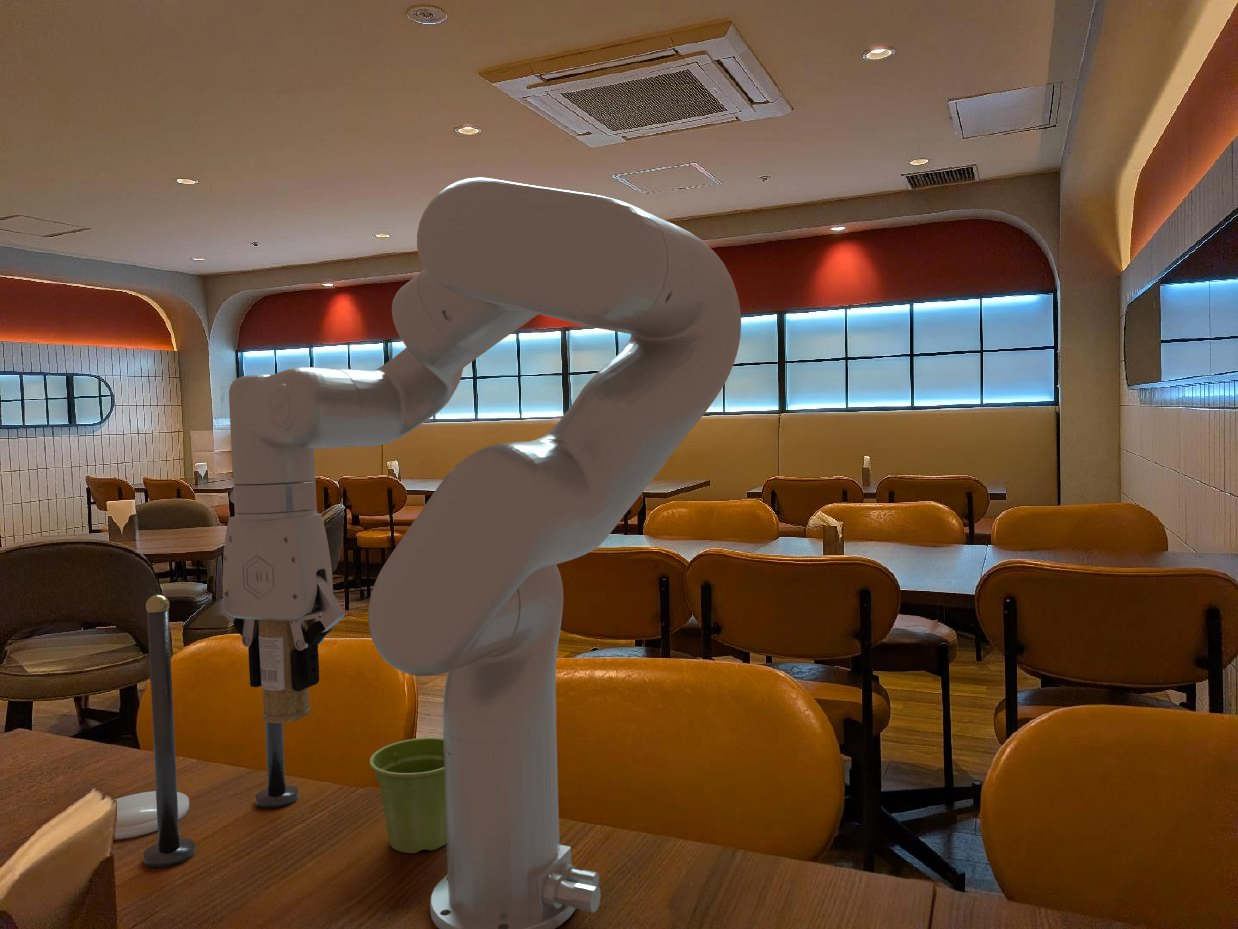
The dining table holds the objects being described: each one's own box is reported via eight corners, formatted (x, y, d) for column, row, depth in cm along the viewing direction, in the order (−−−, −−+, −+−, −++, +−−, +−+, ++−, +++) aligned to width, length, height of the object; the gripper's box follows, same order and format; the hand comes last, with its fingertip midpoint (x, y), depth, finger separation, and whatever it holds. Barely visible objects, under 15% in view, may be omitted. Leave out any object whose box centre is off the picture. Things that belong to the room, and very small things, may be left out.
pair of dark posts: (306, 795, 97) (297, 569, 96) (165, 871, 81) (152, 600, 80) (277, 789, 99) (268, 568, 98) (133, 863, 83) (120, 598, 81)
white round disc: (209, 805, 95) (209, 797, 95) (125, 847, 86) (125, 837, 86) (147, 792, 99) (146, 784, 99) (60, 830, 90) (60, 821, 90)
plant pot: (487, 827, 88) (485, 744, 88) (430, 871, 80) (427, 779, 79) (413, 812, 92) (411, 732, 92) (352, 853, 84) (348, 765, 83)
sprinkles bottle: (318, 716, 85) (311, 581, 85) (272, 728, 82) (265, 588, 82) (299, 706, 89) (293, 576, 88) (254, 718, 86) (247, 583, 85)
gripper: (179, 505, 84) (189, 690, 85) (320, 504, 78) (329, 703, 79) (237, 498, 91) (246, 670, 92) (371, 497, 85) (379, 680, 86)
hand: (284, 683), depth 85 cm, fingers closed on sprinkles bottle, 4 cm apart
